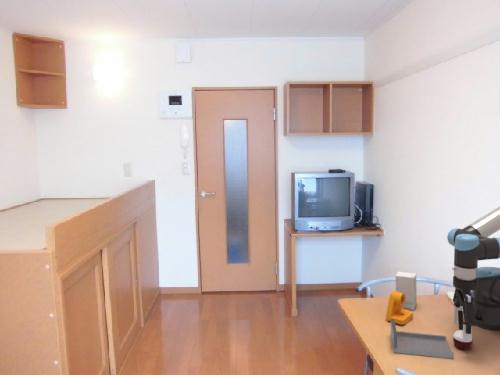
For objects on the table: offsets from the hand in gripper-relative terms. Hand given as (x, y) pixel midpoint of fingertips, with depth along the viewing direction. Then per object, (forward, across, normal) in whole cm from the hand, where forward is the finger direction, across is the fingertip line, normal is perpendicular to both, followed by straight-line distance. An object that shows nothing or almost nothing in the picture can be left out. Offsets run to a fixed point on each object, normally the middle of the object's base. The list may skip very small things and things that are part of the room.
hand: (461, 331), depth 145 cm
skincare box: (+6, -32, -16) cm, 36 cm away
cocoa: (+6, 0, 0) cm, 6 cm away
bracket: (+6, -18, -20) cm, 28 cm away
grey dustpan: (+6, +3, -15) cm, 16 cm away
